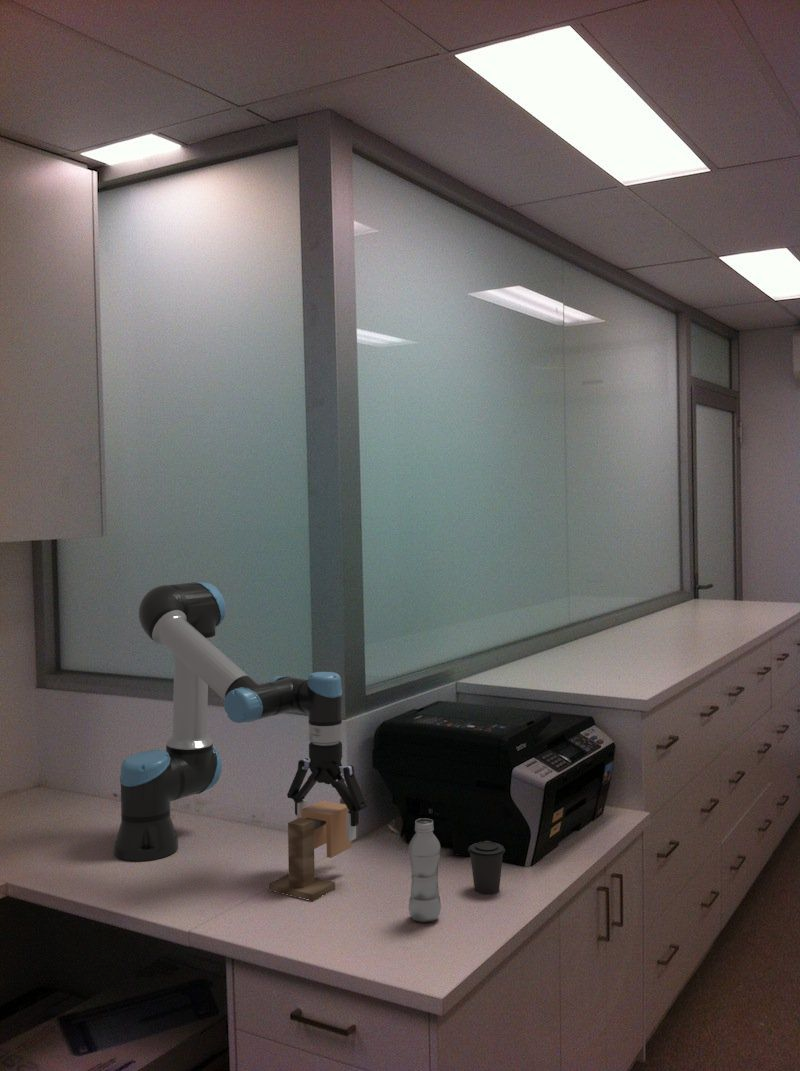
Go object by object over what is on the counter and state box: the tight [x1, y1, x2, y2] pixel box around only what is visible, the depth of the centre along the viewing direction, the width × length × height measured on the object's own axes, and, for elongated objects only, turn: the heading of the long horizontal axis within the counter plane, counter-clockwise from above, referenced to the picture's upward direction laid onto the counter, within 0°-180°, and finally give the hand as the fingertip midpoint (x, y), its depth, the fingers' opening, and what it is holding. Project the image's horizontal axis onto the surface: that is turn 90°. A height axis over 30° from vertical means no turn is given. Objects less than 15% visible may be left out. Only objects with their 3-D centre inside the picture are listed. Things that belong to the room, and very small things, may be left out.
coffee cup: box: [468, 840, 506, 896], centre depth 216 cm, size 8×8×10 cm
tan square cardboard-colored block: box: [301, 800, 353, 859], centre depth 225 cm, size 8×8×10 cm
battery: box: [452, 833, 471, 857], centre depth 240 cm, size 4×7×10 cm, turn 155°
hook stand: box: [268, 797, 345, 902], centre depth 223 cm, size 12×22×16 cm, turn 149°
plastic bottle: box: [408, 817, 442, 923], centre depth 201 cm, size 6×7×20 cm
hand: (326, 834), depth 225 cm, fingers open, 13 cm apart
